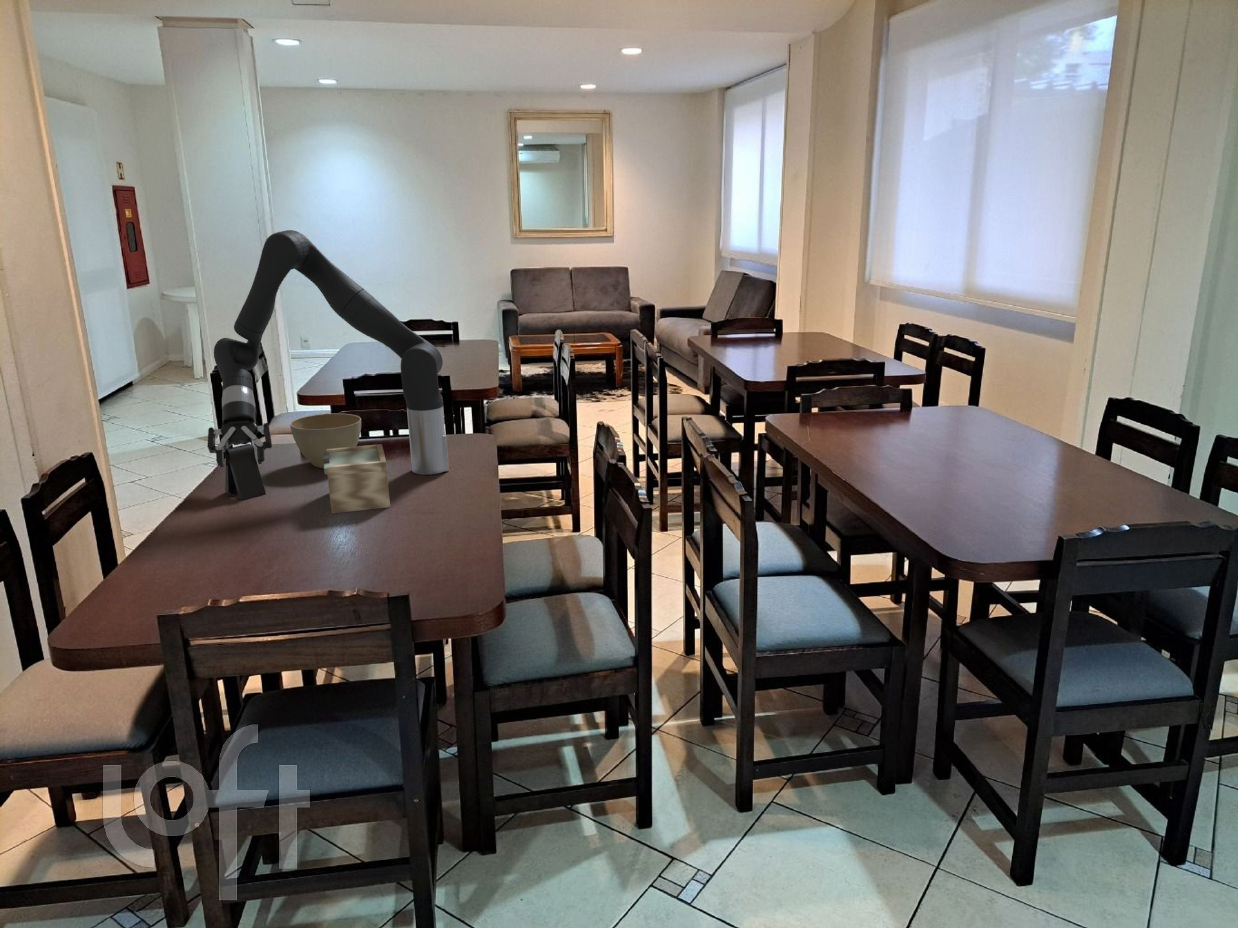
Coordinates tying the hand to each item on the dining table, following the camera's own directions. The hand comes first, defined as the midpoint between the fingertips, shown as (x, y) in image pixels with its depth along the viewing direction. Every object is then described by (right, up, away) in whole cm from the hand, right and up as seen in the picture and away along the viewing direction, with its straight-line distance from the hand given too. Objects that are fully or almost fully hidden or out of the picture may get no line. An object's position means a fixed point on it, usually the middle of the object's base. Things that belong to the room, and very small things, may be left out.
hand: (240, 464), depth 206 cm
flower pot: (+13, 0, +26) cm, 29 cm away
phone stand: (0, -7, +3) cm, 8 cm away
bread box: (+29, -8, -2) cm, 31 cm away
